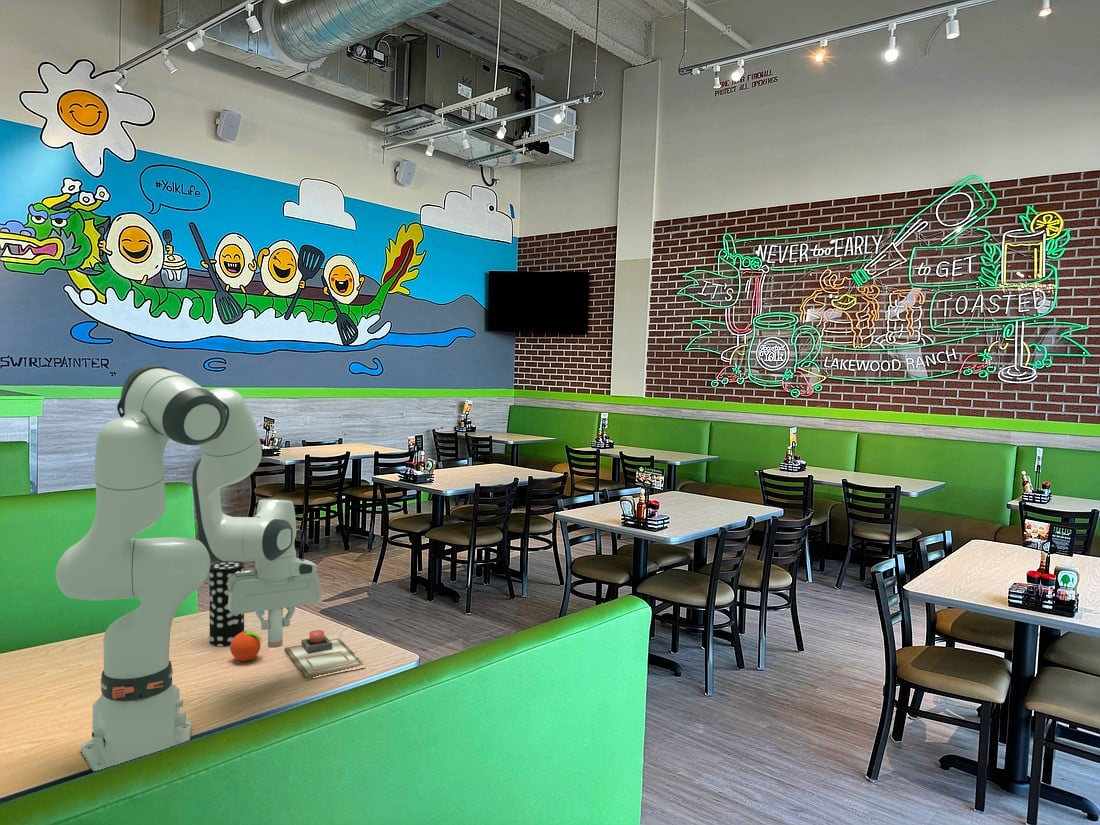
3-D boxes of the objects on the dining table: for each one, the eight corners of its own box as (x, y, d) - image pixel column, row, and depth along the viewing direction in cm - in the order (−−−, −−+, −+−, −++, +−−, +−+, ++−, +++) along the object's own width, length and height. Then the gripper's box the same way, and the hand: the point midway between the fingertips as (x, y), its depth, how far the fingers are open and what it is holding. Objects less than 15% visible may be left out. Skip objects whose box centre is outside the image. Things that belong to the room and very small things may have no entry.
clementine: (269, 655, 190) (269, 627, 190) (256, 666, 184) (256, 637, 183) (239, 653, 191) (239, 626, 191) (224, 664, 184) (224, 635, 184)
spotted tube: (236, 647, 196) (235, 570, 194) (203, 646, 196) (203, 569, 194) (249, 635, 204) (249, 561, 203) (218, 634, 204) (217, 560, 203)
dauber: (284, 646, 175) (285, 597, 175) (269, 648, 173) (269, 599, 173) (280, 642, 178) (281, 594, 178) (265, 644, 176) (266, 596, 176)
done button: (326, 640, 193) (326, 633, 193) (311, 643, 191) (311, 636, 191) (321, 636, 196) (321, 629, 196) (307, 638, 194) (307, 631, 194)
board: (364, 668, 184) (364, 657, 184) (305, 680, 176) (305, 668, 176) (339, 642, 201) (339, 631, 200) (284, 651, 193) (284, 641, 193)
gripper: (230, 575, 167) (230, 638, 167) (323, 565, 178) (323, 624, 179) (224, 570, 172) (224, 631, 172) (315, 560, 184) (315, 617, 184)
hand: (275, 627), depth 176 cm, fingers closed on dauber, 3 cm apart
